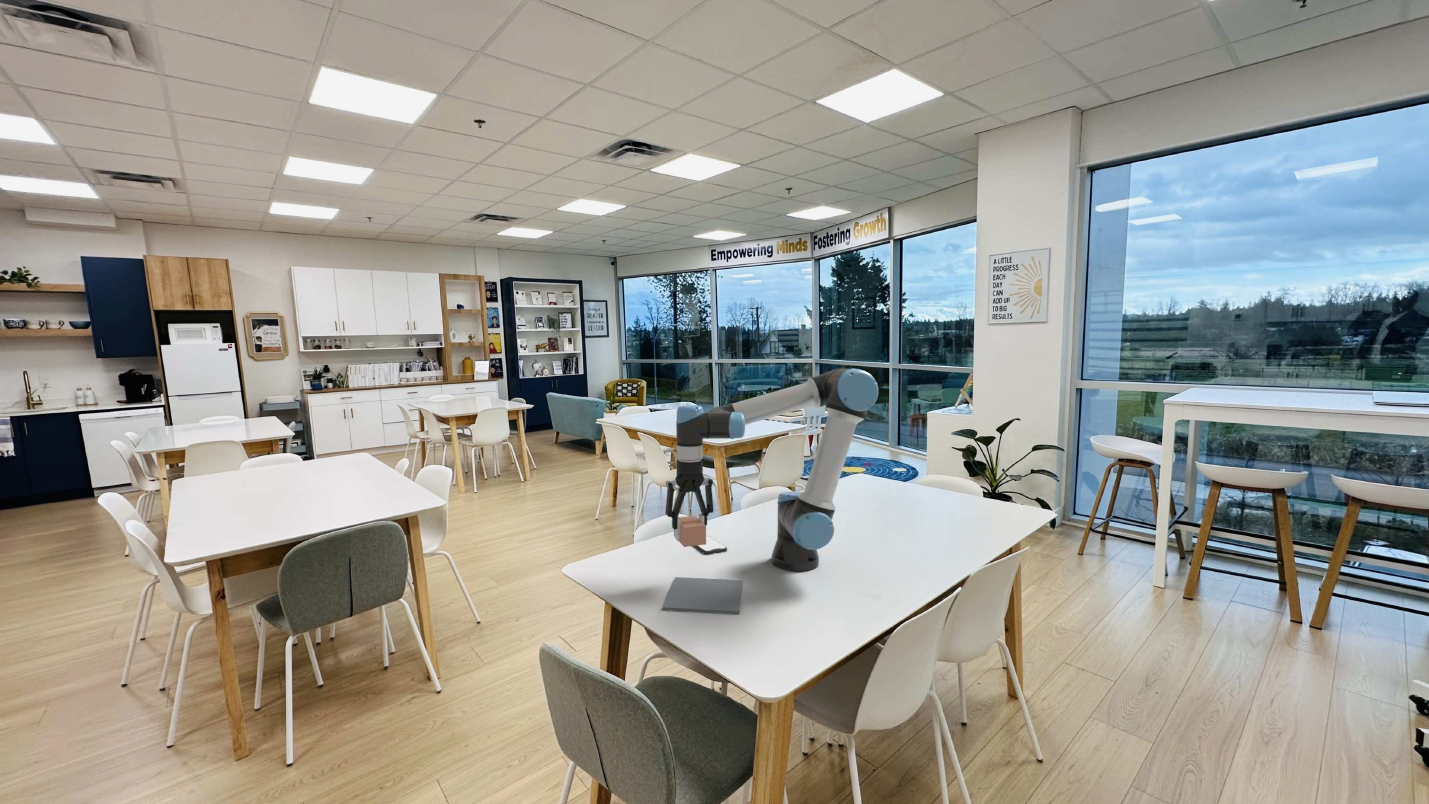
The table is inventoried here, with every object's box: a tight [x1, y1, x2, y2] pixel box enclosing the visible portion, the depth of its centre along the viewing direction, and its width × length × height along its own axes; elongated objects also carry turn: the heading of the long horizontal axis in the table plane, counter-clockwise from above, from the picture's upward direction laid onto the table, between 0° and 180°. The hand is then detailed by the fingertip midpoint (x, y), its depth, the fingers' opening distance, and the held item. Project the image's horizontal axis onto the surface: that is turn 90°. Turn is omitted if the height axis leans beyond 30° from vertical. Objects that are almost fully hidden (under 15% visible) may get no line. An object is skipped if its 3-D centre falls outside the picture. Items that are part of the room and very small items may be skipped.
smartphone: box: [693, 535, 728, 556], centre depth 195 cm, size 9×2×16 cm
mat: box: [662, 576, 744, 615], centre depth 155 cm, size 20×20×1 cm
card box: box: [673, 515, 707, 548], centre depth 161 cm, size 10×6×6 cm, turn 21°
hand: (689, 538), depth 161 cm, fingers closed on card box, 6 cm apart
